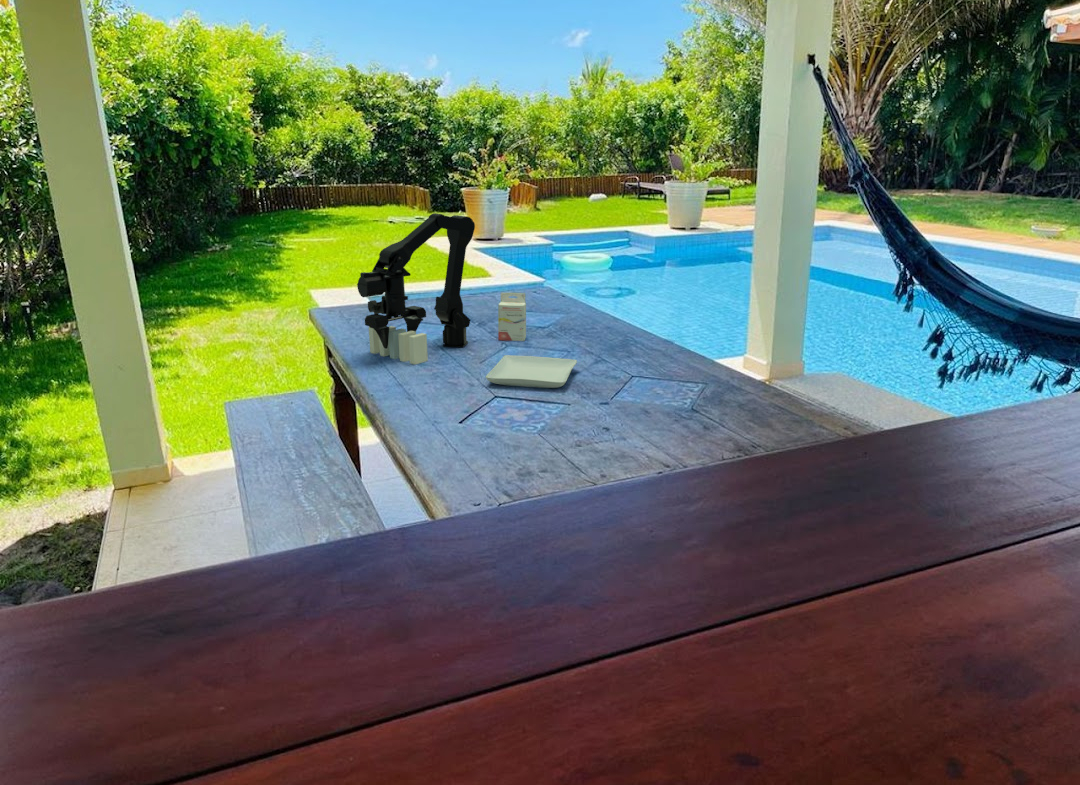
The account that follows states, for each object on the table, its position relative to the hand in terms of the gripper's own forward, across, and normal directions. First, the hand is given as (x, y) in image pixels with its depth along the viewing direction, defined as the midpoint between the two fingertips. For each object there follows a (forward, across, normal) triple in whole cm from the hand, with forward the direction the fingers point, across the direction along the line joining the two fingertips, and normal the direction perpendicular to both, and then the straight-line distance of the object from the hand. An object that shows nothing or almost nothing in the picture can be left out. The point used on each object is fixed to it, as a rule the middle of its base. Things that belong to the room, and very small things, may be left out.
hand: (397, 345), depth 226 cm
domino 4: (+4, 0, +4) cm, 6 cm away
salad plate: (+4, -9, +44) cm, 45 cm away
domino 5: (+4, 0, +9) cm, 10 cm away
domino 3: (+4, 0, 0) cm, 4 cm away
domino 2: (+4, 0, -4) cm, 6 cm away
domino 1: (+4, 0, -9) cm, 10 cm away
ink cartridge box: (+4, -37, +12) cm, 39 cm away
